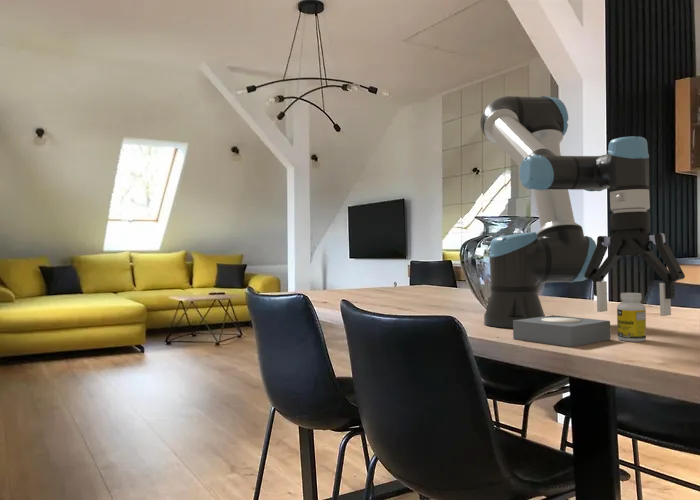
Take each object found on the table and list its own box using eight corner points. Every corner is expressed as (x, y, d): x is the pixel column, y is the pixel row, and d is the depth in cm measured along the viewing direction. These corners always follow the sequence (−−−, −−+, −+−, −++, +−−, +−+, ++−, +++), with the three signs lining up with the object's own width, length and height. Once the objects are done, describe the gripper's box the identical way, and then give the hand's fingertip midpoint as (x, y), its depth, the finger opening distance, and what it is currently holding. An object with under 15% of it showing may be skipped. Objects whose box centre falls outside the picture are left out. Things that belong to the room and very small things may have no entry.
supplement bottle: (611, 339, 125) (611, 293, 125) (630, 337, 127) (630, 292, 127) (632, 342, 120) (631, 294, 120) (652, 340, 122) (651, 293, 122)
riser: (513, 338, 127) (513, 319, 127) (553, 332, 136) (552, 314, 136) (570, 347, 116) (570, 325, 116) (610, 339, 124) (609, 319, 124)
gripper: (566, 215, 131) (569, 311, 131) (683, 205, 111) (686, 318, 111) (586, 216, 136) (588, 308, 135) (701, 207, 115) (704, 315, 115)
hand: (632, 313), depth 123 cm, fingers open, 13 cm apart
